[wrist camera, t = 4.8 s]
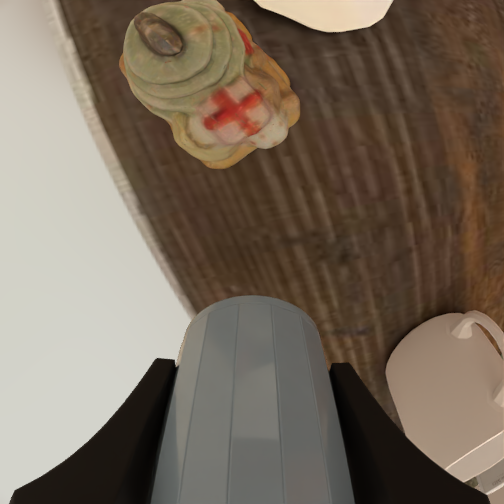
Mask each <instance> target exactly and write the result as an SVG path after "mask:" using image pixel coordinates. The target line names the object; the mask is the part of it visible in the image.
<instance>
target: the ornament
mask: <svg viewBox="0 0 504 504" xmlns="http://www.w3.org/2000/svg"><path fill="white" fill-rule="evenodd" d="M123 51H124V53H123V54H122V56H121V58H120V61H119V67H120V69H121V71H122V73H123V74H124V75H125V77H126V78H127V79H128V82H129V85H130V88H131V90H132V92H133V94H134V95H135V97H136V98H137V99H138V100H139V101H140V102H141V103H142V104H143V105H144V106H145V107H146V108H147V109H148V110H149V111H151V112H152V113H153V114H155V115H157V116H159V117H161V118H163V119H165V120H166V121H167V122H168V124H169V125H170V127H171V129H172V131H173V135H174V140H175V141H176V142H177V144H178V145H179V146H180V147H181V148H183V149H184V150H185V151H187V152H188V153H189V154H190V155H192V156H194V157H195V158H197V159H200V160H201V161H202V162H203V163H204V164H205V165H206V166H207V167H209V168H213V169H225V168H228V167H230V166H232V165H234V164H236V163H237V162H238V161H240V160H241V159H242V158H244V157H245V156H246V155H248V154H249V153H250V152H252V151H253V150H255V149H256V148H263V149H267V148H272V147H274V146H276V145H278V144H280V143H281V142H282V141H283V140H284V139H285V138H286V137H287V135H288V128H289V127H291V126H292V125H293V124H295V123H296V122H297V121H298V120H299V116H300V100H299V98H298V96H297V95H296V94H295V93H294V92H293V91H292V90H291V88H290V81H289V78H288V77H287V75H286V74H285V72H284V71H283V70H282V69H281V68H280V67H279V66H278V64H277V63H276V62H275V60H273V59H272V58H271V57H269V56H268V55H267V54H265V53H264V51H263V50H262V49H261V48H260V47H259V46H258V45H256V44H255V43H253V42H252V36H251V35H250V33H249V32H248V30H247V29H246V28H245V26H244V25H243V24H242V23H241V22H240V21H239V20H238V19H237V18H236V17H235V15H233V14H232V13H230V12H226V11H225V9H224V7H223V6H222V5H221V4H220V3H219V2H218V1H216V0H182V1H180V2H167V3H162V4H158V5H155V6H150V7H149V8H147V9H145V10H144V11H142V12H140V13H139V14H138V15H136V16H135V17H134V19H133V20H132V21H131V23H130V25H129V27H128V29H127V32H126V37H125V41H124V48H123Z"/></svg>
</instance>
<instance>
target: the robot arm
mask: <svg viewBox="0 0 504 504" xmlns="http://www.w3.org/2000/svg"><path fill="white" fill-rule="evenodd" d="M175 368H176V365H175V360H172V359H161V358H157V359H155V360H154V362H153V363H152V365H151V366H150V368H149V369H148V371H147V372H146V374H145V375H144V376H143V378H142V379H141V381H140V382H139V383H138V385H137V386H136V388H135V389H134V390H133V391H132V393H131V394H130V395H129V397H128V398H127V399H126V400H125V402H124V403H123V404H122V405H121V407H120V408H119V409H118V410H117V411H116V412H115V414H114V415H113V416H112V417H111V418H110V419H109V420H108V422H107V423H106V424H105V425H104V426H103V427H102V428H101V429H100V430H99V431H98V432H97V433H96V434H95V435H94V436H93V437H92V438H91V439H90V440H89V441H88V442H87V443H85V444H84V445H83V446H82V447H81V448H80V449H78V450H77V451H76V452H75V453H74V454H73V455H71V456H70V457H69V458H67V459H66V460H65V461H63V462H62V463H60V464H59V465H58V466H56V467H55V468H53V469H52V470H50V471H49V472H47V473H46V474H44V475H43V476H41V477H39V478H37V479H35V480H34V481H32V482H30V483H28V484H26V485H24V486H22V487H20V488H19V489H17V490H15V491H14V493H13V495H12V497H11V500H10V503H9V504H146V500H147V495H148V489H149V484H150V479H151V474H152V469H153V464H154V459H155V455H156V450H157V445H158V441H159V436H160V431H161V427H162V422H163V418H164V414H165V409H166V405H167V401H168V397H169V393H170V389H171V385H172V381H173V377H174V372H175ZM330 376H331V380H332V384H333V389H334V393H335V397H336V402H337V406H338V411H339V415H340V420H341V425H342V429H343V434H344V439H345V444H346V449H347V454H348V459H349V464H350V469H351V474H352V479H353V485H354V490H355V496H356V501H357V504H490V501H489V499H488V496H487V494H485V493H483V492H481V491H478V490H477V489H475V488H473V487H471V486H469V485H467V484H465V483H464V482H462V481H460V480H459V479H457V478H456V477H454V476H453V475H451V474H450V473H448V472H447V471H446V470H444V469H443V468H442V467H440V466H439V465H438V464H436V463H435V462H434V461H432V460H431V459H430V458H429V457H428V456H426V455H425V454H424V453H423V452H422V451H421V450H420V449H419V448H418V447H417V446H416V445H414V444H413V443H412V442H411V441H410V440H409V439H408V438H407V437H406V436H405V434H404V433H403V432H402V431H401V430H400V429H399V428H398V427H397V426H396V424H395V423H394V422H393V421H392V420H391V419H390V417H389V416H388V415H387V414H386V413H385V411H384V410H383V409H382V407H381V406H380V405H379V404H378V402H377V401H376V400H375V398H374V397H373V396H372V394H371V393H370V392H369V390H368V389H367V387H366V386H365V385H364V383H363V382H362V380H361V379H360V377H359V376H358V374H357V373H356V371H355V370H354V369H353V367H352V366H351V364H350V363H332V365H331V368H330Z"/></svg>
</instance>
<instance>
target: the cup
mask: <svg viewBox="0 0 504 504" xmlns="http://www.w3.org/2000/svg"><path fill="white" fill-rule="evenodd" d="M146 504H357V501H356V496H355V490H354V485H353V479H352V474H351V469H350V464H349V459H348V454H347V449H346V444H345V439H344V434H343V429H342V425H341V420H340V415H339V411H338V406H337V402H336V397H335V393H334V389H333V384H332V380H331V376H330V371H329V367H328V363H327V359H326V354H325V350H324V347H323V344H322V341H321V337H320V333H319V330H318V328H317V326H316V324H315V323H314V321H313V320H312V319H311V318H310V317H309V316H308V315H307V314H306V313H305V312H304V311H302V310H301V309H300V308H298V307H296V306H295V305H293V304H291V303H288V302H286V301H284V300H280V299H277V298H273V297H268V296H259V295H244V296H237V297H232V298H228V299H224V300H221V301H219V302H216V303H214V304H212V305H210V306H208V307H207V308H205V309H204V310H202V311H201V312H200V313H199V314H198V315H196V316H195V317H194V319H193V320H192V321H191V322H190V324H189V326H188V328H187V330H186V333H185V336H184V340H183V343H182V345H181V347H180V352H179V356H178V359H177V363H176V368H175V372H174V377H173V381H172V385H171V389H170V393H169V397H168V401H167V405H166V409H165V414H164V418H163V422H162V427H161V431H160V436H159V441H158V445H157V450H156V455H155V459H154V464H153V469H152V474H151V479H150V484H149V489H148V495H147V500H146Z"/></svg>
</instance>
